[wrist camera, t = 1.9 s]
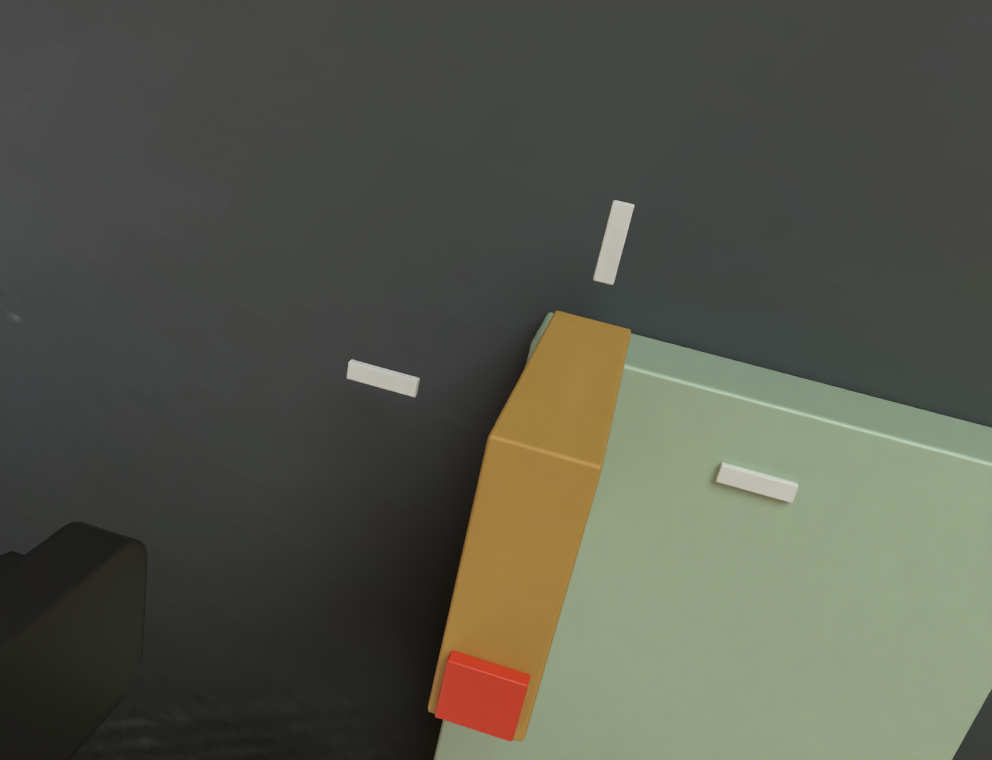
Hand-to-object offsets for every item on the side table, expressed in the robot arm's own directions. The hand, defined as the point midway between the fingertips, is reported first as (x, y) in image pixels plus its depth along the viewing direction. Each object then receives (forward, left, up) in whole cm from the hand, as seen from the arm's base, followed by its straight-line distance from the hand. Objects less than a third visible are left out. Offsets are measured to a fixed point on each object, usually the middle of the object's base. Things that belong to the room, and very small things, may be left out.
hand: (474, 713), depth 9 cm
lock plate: (+3, +2, -10) cm, 10 cm away
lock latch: (0, 0, -7) cm, 7 cm away
